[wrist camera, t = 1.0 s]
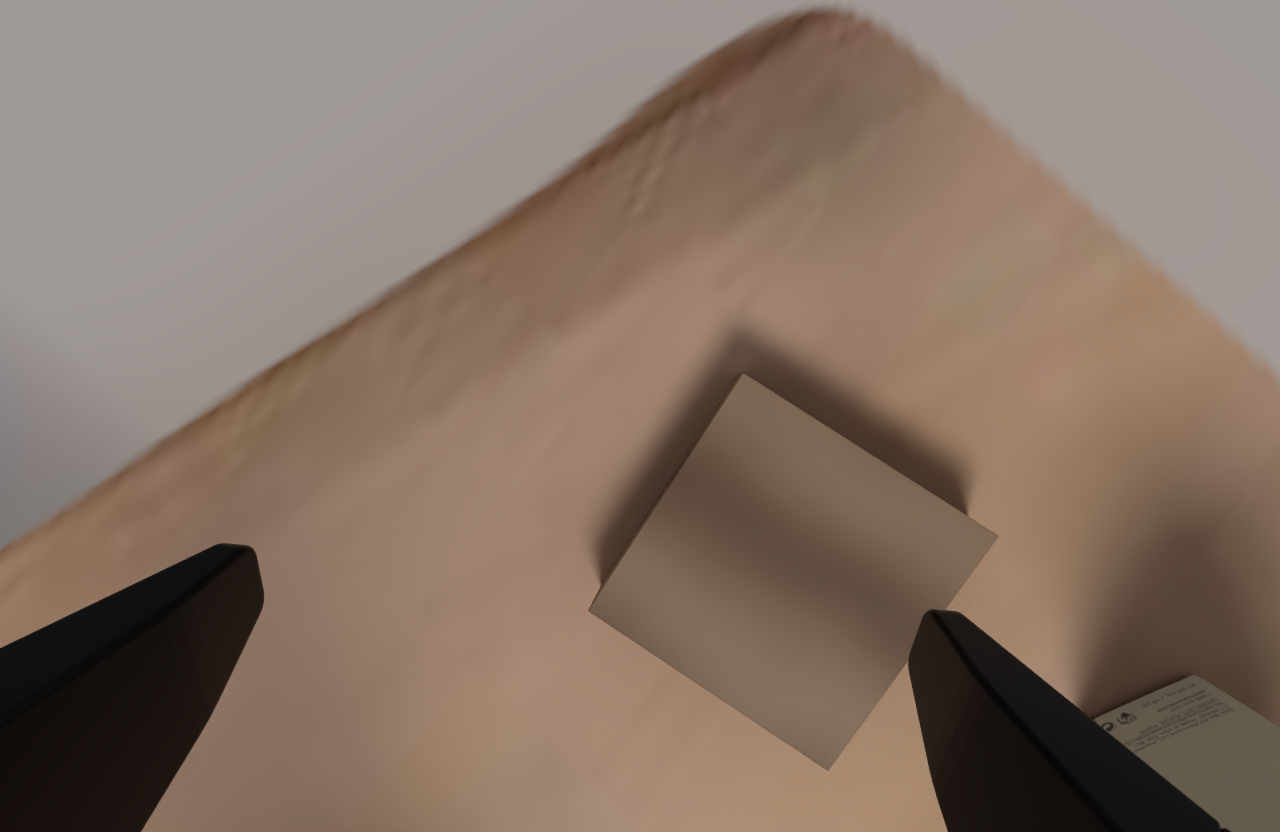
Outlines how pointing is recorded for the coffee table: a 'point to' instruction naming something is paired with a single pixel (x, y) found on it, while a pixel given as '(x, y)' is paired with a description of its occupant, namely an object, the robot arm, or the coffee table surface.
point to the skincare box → (1207, 750)
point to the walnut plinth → (788, 570)
